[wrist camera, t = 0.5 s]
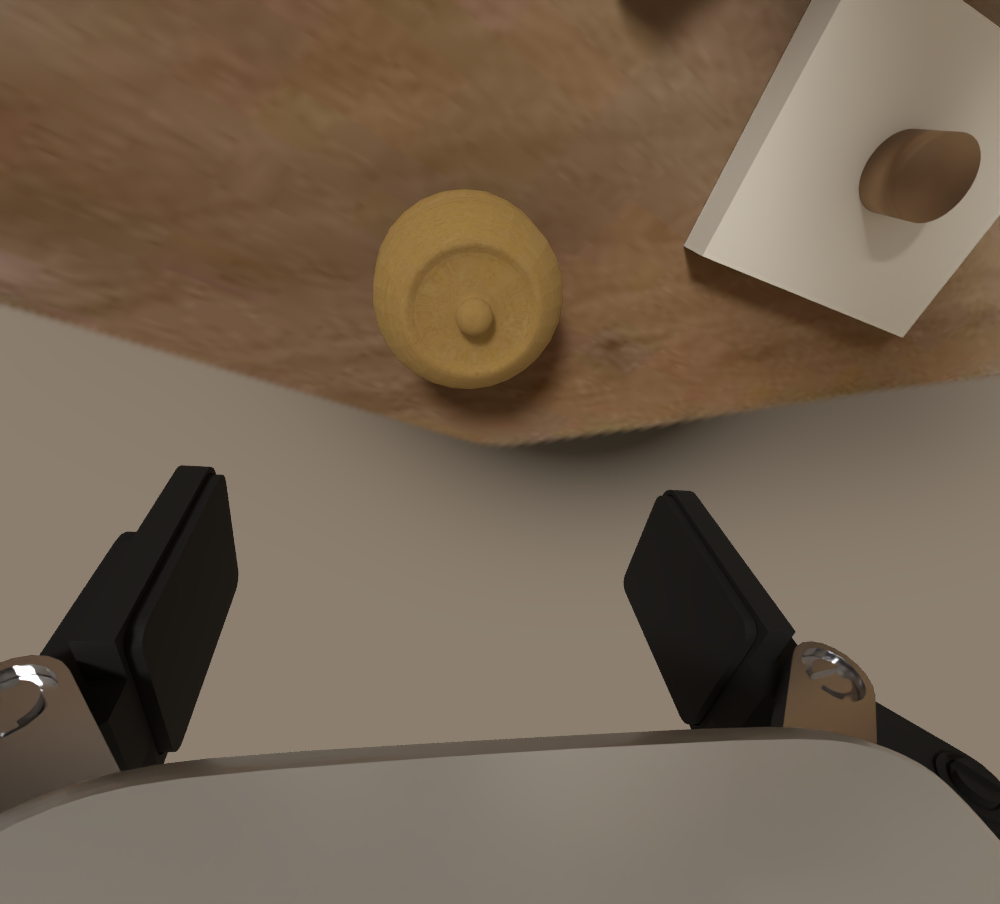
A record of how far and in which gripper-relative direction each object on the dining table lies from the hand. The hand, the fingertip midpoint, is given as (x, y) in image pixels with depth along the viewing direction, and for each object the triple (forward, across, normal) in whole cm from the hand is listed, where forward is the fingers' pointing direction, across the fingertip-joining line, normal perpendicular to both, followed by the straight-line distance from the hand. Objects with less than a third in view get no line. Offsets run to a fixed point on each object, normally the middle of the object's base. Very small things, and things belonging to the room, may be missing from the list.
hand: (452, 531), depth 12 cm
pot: (+30, -3, +2) cm, 30 cm away
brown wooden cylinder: (+26, -30, -9) cm, 41 cm away
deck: (+30, -31, -14) cm, 45 cm away
